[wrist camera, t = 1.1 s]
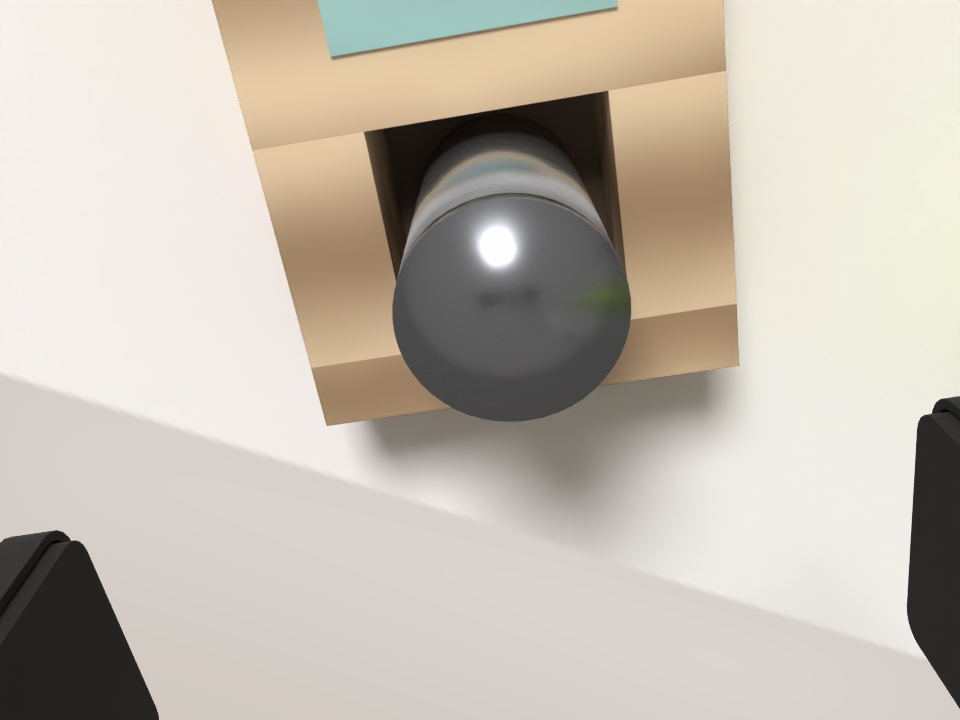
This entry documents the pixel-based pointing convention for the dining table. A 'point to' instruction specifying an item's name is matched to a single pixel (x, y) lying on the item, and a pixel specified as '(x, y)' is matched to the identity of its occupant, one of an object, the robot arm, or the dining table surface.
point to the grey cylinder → (508, 276)
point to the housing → (464, 96)
